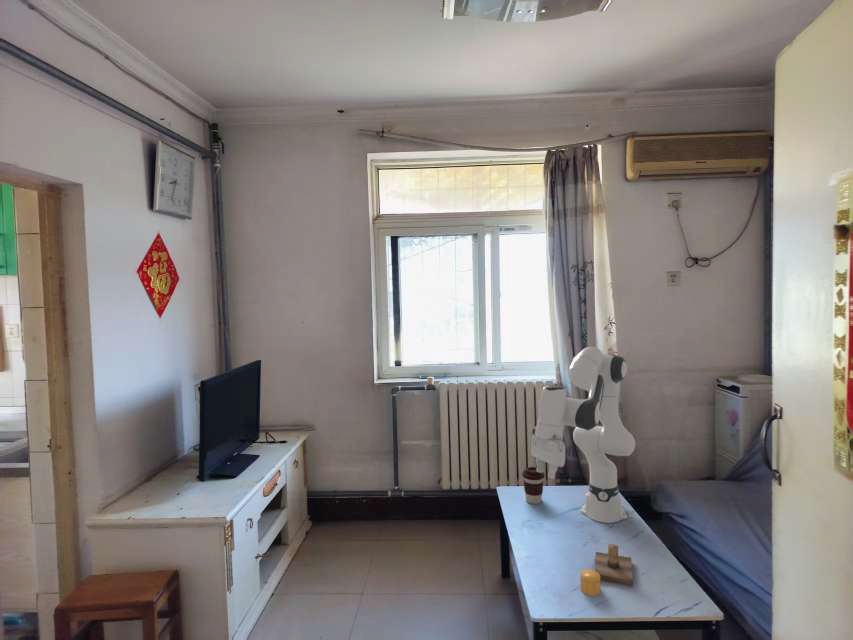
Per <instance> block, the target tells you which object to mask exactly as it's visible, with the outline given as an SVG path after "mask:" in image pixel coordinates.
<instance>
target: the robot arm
mask: <svg viewBox="0 0 853 640" xmlns="http://www.w3.org/2000/svg"><path fill="white" fill-rule="evenodd" d="M627 373H628V365H627V361H626V359H624V357H622V356H619V355H611V354H604V353H603V352H602V351H601V349H599V348H598V347H596V346H586V347H585V348H583V349H582V350H580V351H579V353H578V354H576V355H575V356H574V357H573V358H572V361H571V364H570V366H569V367H568V377H569V380H570V381H571V382H572V383H573V385H574V386H576V387H577V388H578V389H581V390H584V391H586V392H589V394H588V397H587V398H585V399H584V398H583V399H580V398H573V397H572V398H571V397H567V390H566V388H565V387H564V386H561V385H550V384H549V385H545V386H543V388H542V390H541V395H540V399H539V403H538V413H539V414H538V415H539V416H538V419H537V422H536V426H534V427H533V428H531V430H530V431H531V433H530V434H531V435H532V437H531V440H530V441H531V442H530V443H531V444H530V453H531V456H532V457H534V458H535V464H536V467H537V470H536V471H537V472H539V473H543V472H544V467H543V462H545V463H547V464H549V471H548V472H547V477H548V479H550V480H554V479H555V478H556V474H557V473H556V472H557V471H558V468H559V467H560V468H563V467H564V466H565V464H566V444H565V443H564V440H563V438H564V431H565V430H564V429H565V426H570V427H575V428H574V430H573V432H572V433H573V434H572V438H573V442H574V444H575V445H576V446H577V447H578V448H579V449H580V451H581V452H582V453H583V455H584V456H585V458H586V460H587V464H588V469H589V481H588V492H586V493H585V495H584V498H585V499H584V500H585V501H584V504H583V506H582V507H581V509H580V513H581V514H583V515H586V516H587V517H588V518H590V519H592V520H593V521H596V522H600V523H604V524H605V523H607V524H609V523H610V524H611V523H616V522H619V521H621V520H627V519H628V515H627V513H626V511H625V509H624V507H623V499H622V498H621V495H619V490H620V489H619V484H618V469H617V466H616V464H615V463H614V462H613V461H612V460H611V459H609V458H608V457H607V455H611V456H616V457H629V456H630V455H632V454H633V452H634V451H635V447H636V440H635V438H634V436H633V434H632V433H631V432H630V431H628V430H627V429H626V427H625V426H624V424H623V423H622V420H621V418H620V415H619V385H618V383H620V382H621V381H623V380H624V379H625V378H626V374H627ZM599 422H601V424H602V426H601V425H599ZM606 454H607V455H606Z"/></svg>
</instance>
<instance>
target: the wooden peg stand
mask: <svg viewBox="0 0 853 640" xmlns="http://www.w3.org/2000/svg"><path fill="white" fill-rule="evenodd" d="M607 547H608V548H607V550H608V552H607V553H605V552H599V551H595V559H594V560H595V561H594V571H596V572H598V573H599V574H600V582H601V581H602V582H607V583H612V584H618V585H624V586H628V587H633V586H634V585H633V580H634V579H633V565H632V563H633V562H632V557H630V556H623V555H619V546H618V545H617V544H615V543H609V544H608V545H607Z"/></svg>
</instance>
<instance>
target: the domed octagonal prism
mask: <svg viewBox="0 0 853 640" xmlns="http://www.w3.org/2000/svg"><path fill="white" fill-rule="evenodd" d="M580 591H581V592H583V593H584V594H585V595H588V596H592V597H593V596H598V595H600V594H601V580H600V574H599V573H598V572H596V571H595V569H589V568H587V569H586V568H585V569H583V570H581V571H580Z"/></svg>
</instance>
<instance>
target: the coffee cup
mask: <svg viewBox="0 0 853 640" xmlns="http://www.w3.org/2000/svg"><path fill="white" fill-rule="evenodd" d="M536 470H537V466H536V467H535V466H529V467H526V468H525V469H524V470H522V477H523V489H524V494H525V495H524V496H525V501H526V502H527V503H529V504H533V505H534V504H535V505H536V504H541V503H542V502H543V501H542V500H543V493H544V492H543V491H544V478H545V472H544V471H543V473H539V472H537V471H536Z"/></svg>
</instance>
